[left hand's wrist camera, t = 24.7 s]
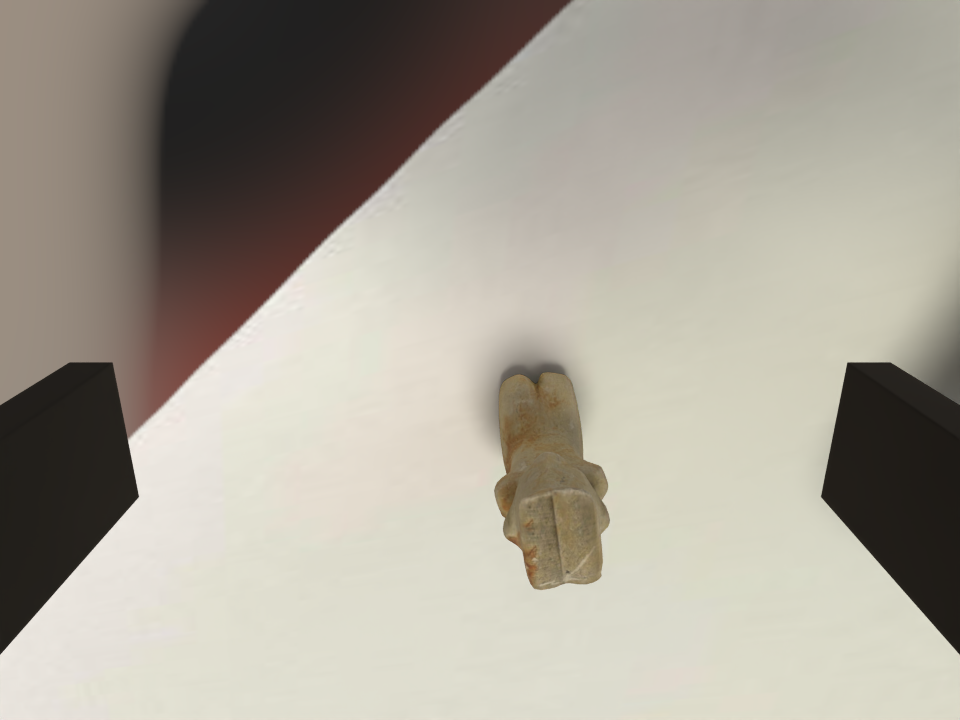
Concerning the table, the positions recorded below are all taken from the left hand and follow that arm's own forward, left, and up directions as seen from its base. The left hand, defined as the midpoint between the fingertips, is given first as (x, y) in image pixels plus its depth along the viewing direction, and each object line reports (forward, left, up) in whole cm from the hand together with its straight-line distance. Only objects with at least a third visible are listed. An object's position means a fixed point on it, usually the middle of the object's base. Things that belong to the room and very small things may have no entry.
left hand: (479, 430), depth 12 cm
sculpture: (+6, +12, -29) cm, 32 cm away
